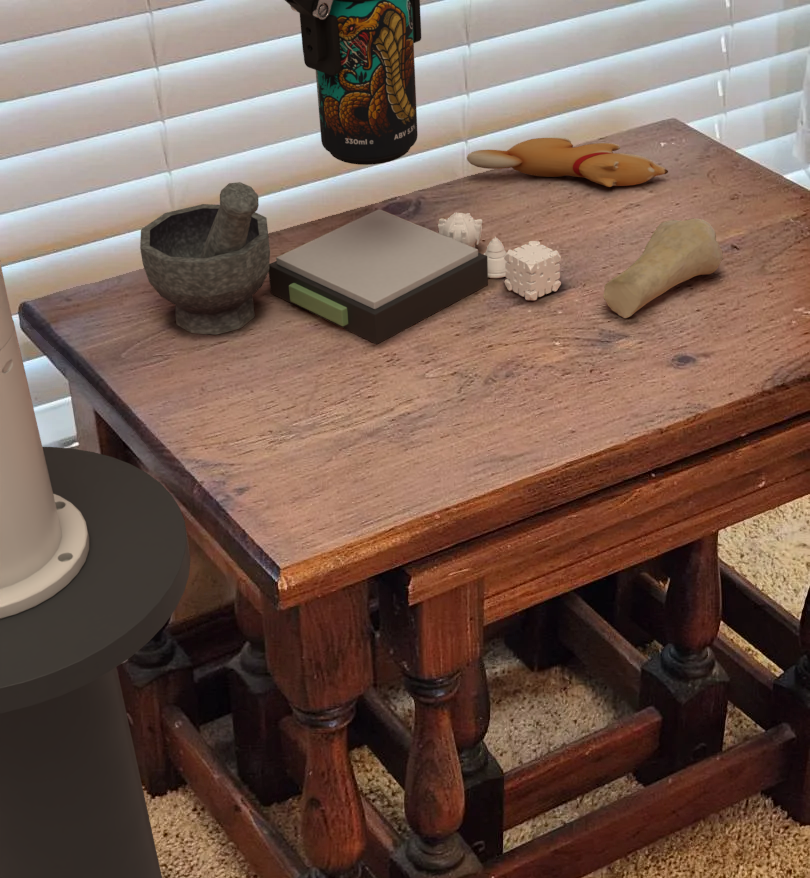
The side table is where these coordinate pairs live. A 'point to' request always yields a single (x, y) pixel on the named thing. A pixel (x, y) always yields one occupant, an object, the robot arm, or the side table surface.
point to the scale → (378, 275)
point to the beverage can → (370, 84)
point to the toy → (570, 161)
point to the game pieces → (509, 258)
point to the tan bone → (665, 264)
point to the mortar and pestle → (209, 260)
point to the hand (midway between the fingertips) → (363, 52)
